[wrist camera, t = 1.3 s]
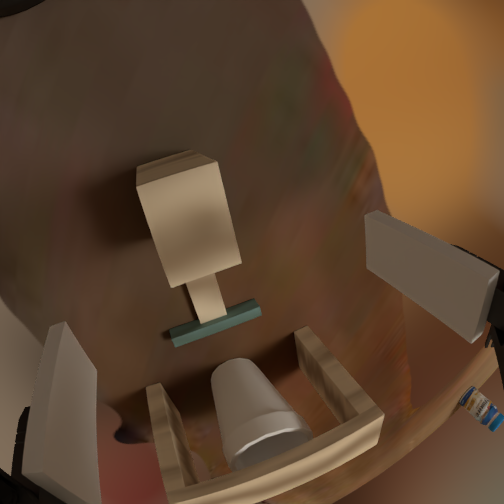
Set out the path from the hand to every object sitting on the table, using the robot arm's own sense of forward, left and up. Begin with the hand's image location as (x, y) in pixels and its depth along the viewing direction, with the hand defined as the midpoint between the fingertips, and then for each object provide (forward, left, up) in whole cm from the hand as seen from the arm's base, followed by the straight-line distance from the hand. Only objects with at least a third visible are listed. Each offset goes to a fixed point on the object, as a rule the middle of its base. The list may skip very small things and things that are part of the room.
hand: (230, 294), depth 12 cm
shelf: (+24, 0, -18) cm, 30 cm away
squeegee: (+6, 0, -18) cm, 19 cm away
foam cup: (+24, 0, -18) cm, 31 cm away
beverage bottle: (+93, +73, -18) cm, 120 cm away
